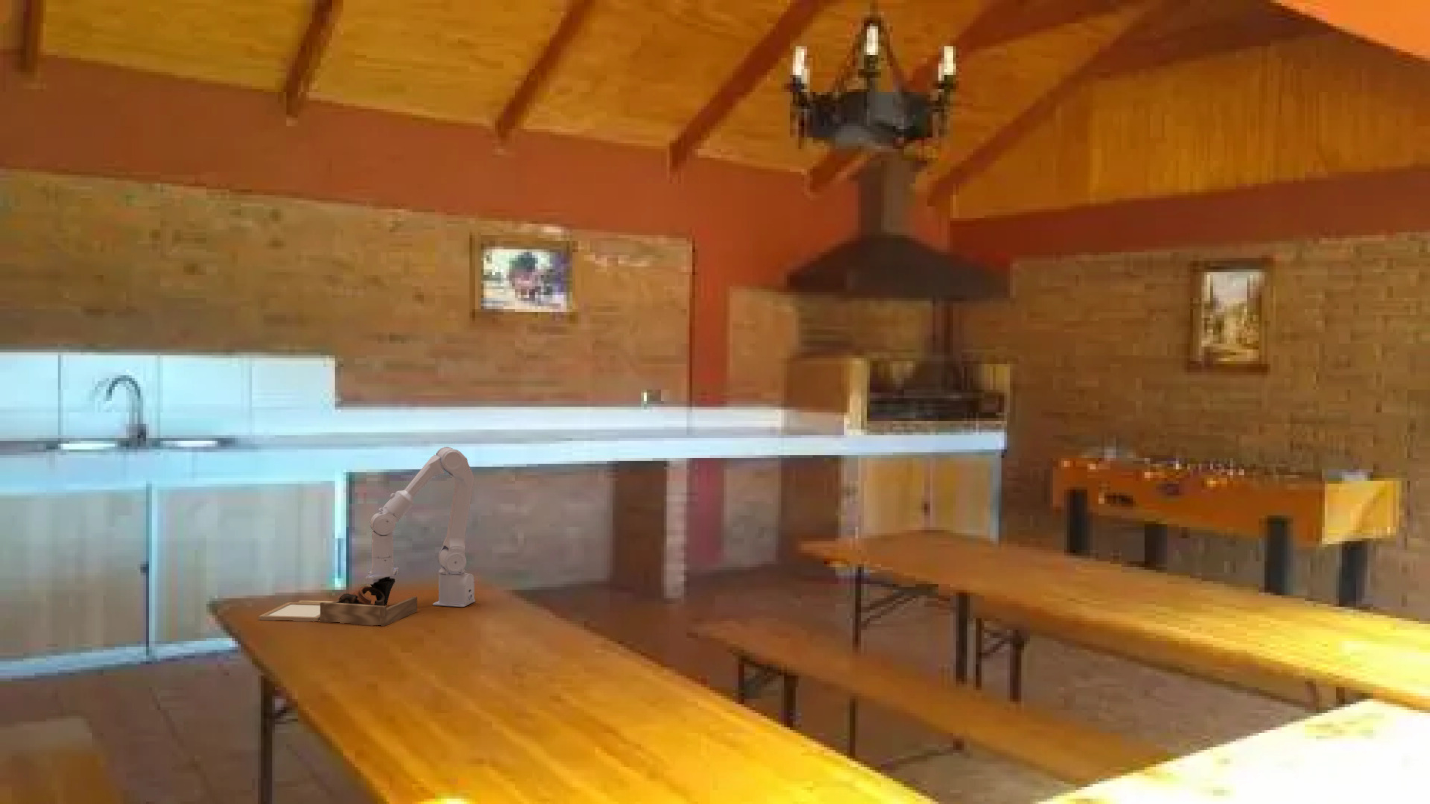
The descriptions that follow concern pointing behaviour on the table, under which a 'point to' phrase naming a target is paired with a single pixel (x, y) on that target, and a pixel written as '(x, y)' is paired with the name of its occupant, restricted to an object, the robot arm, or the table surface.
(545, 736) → the table surface
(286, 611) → the lid
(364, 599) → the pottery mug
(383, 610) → the wooden tray
